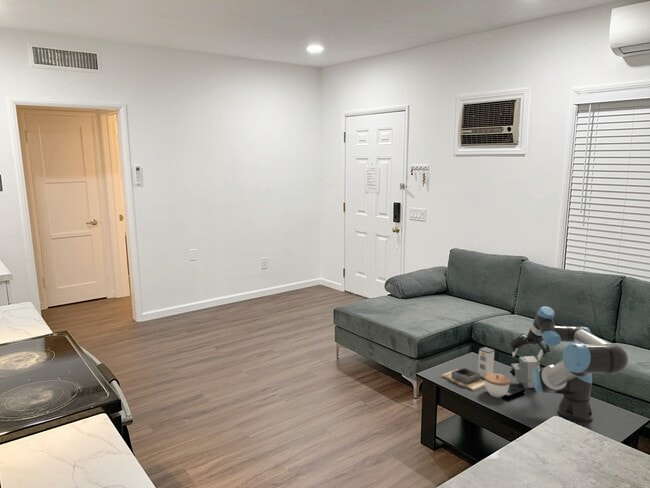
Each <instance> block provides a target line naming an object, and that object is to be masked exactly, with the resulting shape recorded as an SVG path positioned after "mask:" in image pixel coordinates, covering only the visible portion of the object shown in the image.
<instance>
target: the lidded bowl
mask: <svg viewBox="0 0 650 488" xmlns="http://www.w3.org/2000/svg"><path fill="white" fill-rule="evenodd" d="M484 381H485V387H484V388H485V390H486V391H487V392H488V394H489V396H492V397H494V398H503V397H504V396H505V395H507V393H508V391H509V389H510V383H511V379H510V378H509V377H508V376H506V375H503V374H501V373H498V372H497V373H495V372H493V373H489V374H486V375H485V378H484ZM502 396H503V397H502Z"/></svg>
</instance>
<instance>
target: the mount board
mask: <svg viewBox="0 0 650 488" xmlns="http://www.w3.org/2000/svg"><path fill="white" fill-rule="evenodd" d="M458 369H459V368H456V369H454V370H451V371H448V372H445V373H443V374H442V373H441V377H442V378H444V379H447V380H448V379H449V381H450V380H451V381H450V382H453V383H455V384H456V385H459V386H462V387H464V388H465V389H468V390H470V391H472V392H475V391H478V390H480V389H482V388H486V387H485V379H482V378H480V380H478V381H475V382H473V383H470V384H465V383H463V382H460V381H458V380H456V379H454V378H452V377H451V375H452V371H455V370H458ZM463 376H465V377H469V376H467V375H465V374H463Z"/></svg>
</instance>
